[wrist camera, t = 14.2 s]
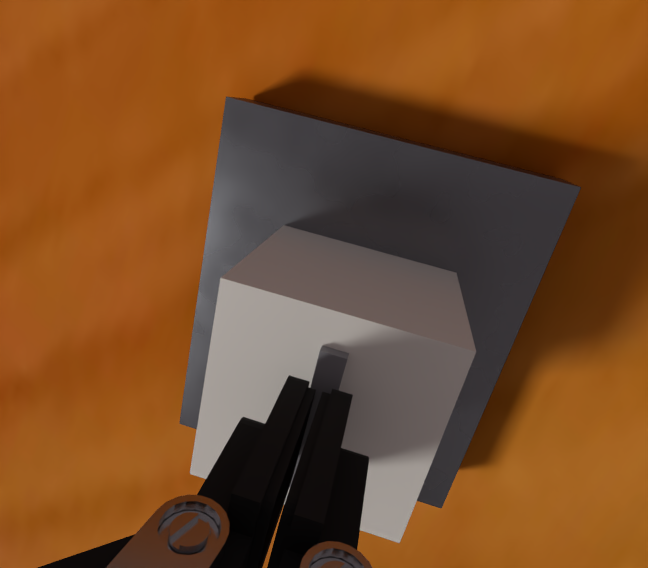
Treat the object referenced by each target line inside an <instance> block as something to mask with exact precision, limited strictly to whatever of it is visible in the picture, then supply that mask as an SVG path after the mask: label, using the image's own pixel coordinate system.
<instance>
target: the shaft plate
mask: <svg viewBox="0 0 648 568" xmlns="http://www.w3.org/2000/svg"><path fill="white" fill-rule="evenodd" d="M580 189H581V187H579V186H577V185H574V184H572V183H570V182H568V181H565V180H563V179H559V178H555V177H552V176H548V175H544V174H540V173H536V172H532V171H528V170H524V169H520V168H516V167H512V166H508V165H505V164H501V163H497V162H493V161H489V160H485V159H481V158H477V157H473V156H469V155H465V154H461V153H457V152H454V151H450V150H446V149H442V148H438V147H434V146H430V145H426V144H422V143H418V142H414V141H410V140H407V139H403V138H399V137H395V136H391V135H387V134H383V133H379V132H375V131H371V130H367V129H363V128H360V127H356V126H352V125H348V124H344V123H340V122H336V121H332V120H328V119H324V118H320V117H316V116H312V115H309V114H305V113H301V112H297V111H293V110H289V109H285V108H281V107H277V106H273V105H269V104H265V103H262V102H258V101H254V100H250V99H246V98H235V97H226V102H225V109H224V116H223V123H222V130H221V137H220V144H219V151H218V158H217V165H216V172H215V179H214V186H213V193H212V200H211V207H210V214H209V221H208V228H207V235H206V242H205V249H204V256H203V263H202V270H201V277H200V284H199V291H198V298H197V305H196V312H195V319H194V326H193V333H192V340H191V347H190V354H189V361H188V368H187V375H186V382H185V389H184V396H183V403H182V410H181V417H180V424H182V425H186V426H189V427H192V428H195V429H197V425H198V418H199V412H200V405H201V399H202V393H203V386H204V380H205V374H206V367H207V361H208V354H209V348H210V342H211V335H212V329H213V323H214V316H215V310H216V303H217V297H218V291H219V284H220V278H221V277H222V276H223V275H224V274H226V273H227V272H228V271H229V270H230V269H232V268H233V267H234V266H235V265H236V264H238V263H239V262H240V261H241V260H242V259H244V258H245V257H246V256H247V255H248V254H250V253H251V252H252V251H253V250H254V249H256V248H257V247H258V246H259V245H261V244H262V243H263V242H264V241H265V240H267V239H268V238H269V237H270V236H271V235H273V234H274V233H275V232H276V231H277V230H279V229H280V228H281V227H282V226H283V225H285V226H289V227H292V228H296V229H299V230H303V231H307V232H310V233H314V234H318V235H321V236H325V237H329V238H332V239H336V240H339V241H343V242H347V243H350V244H354V245H358V246H361V247H365V248H368V249H372V250H376V251H379V252H383V253H387V254H390V255H394V256H398V257H401V258H405V259H408V260H412V261H416V262H419V263H423V264H427V265H430V266H434V267H438V268H441V269H445V270H448V271H452V272H456V273H457V277H458V281H459V285H460V289H461V293H462V297H463V301H464V305H465V309H466V313H467V317H468V321H469V325H470V329H471V333H472V337H473V341H474V345H475V349H476V354H475V356H474V359H473V361H472V364H471V366H470V369H469V371H468V374H467V376H466V379H465V381H464V384H463V386H462V389H461V391H460V394H459V396H458V399H457V401H456V404H455V406H454V409H453V411H452V414H451V416H450V419H449V421H448V424H447V426H446V429H445V431H444V434H443V436H442V439H441V441H440V444H439V446H438V449H437V451H436V454H435V456H434V459H433V461H432V464H431V466H430V469H429V471H428V474H427V476H426V479H425V481H424V484H423V486H422V489H421V491H420V493H419V496H418V498H417V501H420V502H423V503H426V504H429V505H432V506H435V507H438V508H442V506H443V504H444V501H445V499H446V497H447V494H448V492H449V490H450V488H451V485H452V483H453V481H454V478H455V476H456V474H457V471H458V469H459V467H460V465H461V462H462V460H463V458H464V455H465V453H466V451H467V448H468V446H469V444H470V442H471V439H472V437H473V435H474V432H475V430H476V428H477V425H478V423H479V421H480V419H481V416H482V414H483V412H484V409H485V407H486V405H487V402H488V400H489V398H490V396H491V393H492V391H493V389H494V386H495V384H496V382H497V379H498V377H499V375H500V373H501V370H502V368H503V366H504V363H505V361H506V359H507V356H508V354H509V352H510V350H511V347H512V345H513V343H514V340H515V338H516V336H517V333H518V331H519V329H520V327H521V324H522V322H523V320H524V317H525V315H526V313H527V311H528V308H529V306H530V304H531V301H532V299H533V297H534V294H535V292H536V290H537V288H538V285H539V283H540V281H541V278H542V276H543V274H544V271H545V269H546V267H547V265H548V262H549V260H550V258H551V255H552V253H553V251H554V248H555V246H556V244H557V242H558V239H559V237H560V235H561V232H562V230H563V228H564V225H565V223H566V221H567V219H568V216H569V214H570V212H571V209H572V207H573V205H574V202H575V200H576V198H577V196H578V193H579V191H580Z"/></svg>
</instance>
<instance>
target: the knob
mask: <svg viewBox="0 0 648 568" xmlns="http://www.w3.org/2000/svg"><path fill="white" fill-rule="evenodd" d="M475 354H476V349H475V345H474V341H473V337H472V333H471V329H470V325H469V321H468V317H467V313H466V309H465V305H464V301H463V297H462V293H461V289H460V285H459V281H458V277H457V273H456V272H452V271H448V270H445V269H441V268H438V267H434V266H430V265H427V264H423V263H419V262H416V261H412V260H408V259H405V258H401V257H398V256H394V255H390V254H387V253H383V252H379V251H376V250H372V249H368V248H365V247H361V246H358V245H354V244H350V243H347V242H343V241H339V240H336V239H332V238H329V237H325V236H321V235H318V234H314V233H310V232H307V231H303V230H299V229H296V228H292V227H289V226H285V225H283V226H282V227H281V228H280V229H279V230H277V231H276V232H275V233H274V234H273V235H271V236H270V237H269V238H268V239H267V240H265V241H264V242H263V243H262V244H261V245H259V246H258V247H257V248H256V249H254V250H253V251H252V252H251V253H250V254H248V255H247V256H246V257H245V258H244V259H242V260H241V261H240V262H239V263H238V264H236V265H235V266H234V267H233V268H232V269H230V270H229V271H228V272H227V273H226V274H224V275H223V276H222V277H221V278H220V284H219V291H218V297H217V303H216V310H215V316H214V323H213V329H212V335H211V342H210V348H209V354H208V361H207V367H206V374H205V380H204V386H203V393H202V399H201V405H200V412H199V418H198V425H197V431H196V437H195V444H194V450H193V456H192V463H191V469H190V474H192V475H195V476H198V477H201V478H204V479H206V478H207V477H208V475H209V473H210V471H211V470H212V468H213V466H214V464H215V463H216V461H217V459H218V457H219V456H220V454H221V452H222V451H223V449H224V447H225V445H226V444H227V442H228V440H229V438H230V437H231V435H232V433H233V431H234V430H235V428H236V426H237V424H238V423H239V421H240V420H241V418H242V417H246V418H249V419H252V420H255V421H258V422H261V423H266V421H267V419H268V417H269V415H270V413H271V411H272V409H273V407H274V405H275V403H276V401H277V398H278V396H279V394H280V392H281V390H282V388H283V386H284V384H285V382H286V380H287V378H288V376H289V375H290V376H293V377H296V378H300V379H303V380H306V381H309V388H312V389H316V392H315V396H314V400H313V403H312V407H311V411H310V415H309V418H308V422H307V426H306V429H305V433H304V437H303V441H302V444H301V448H300V452H299V456H298V459H297V463H296V467H295V471H294V474H293V477H292V481H293V478H294V475H295V472H296V469H297V466H298V463H299V460H300V457H301V454H302V451H303V448H304V445H305V442H306V439H307V436H308V433H309V430H310V427H311V424H312V421H313V418H314V415H315V412H316V409H317V406H318V403H319V400H320V397H321V394H322V392H325V393H329V394H331V391H332V389H336V390H339V391H342V392H345V393H349V394H352V395H353V397H352V401H351V406H350V410H349V415H348V419H347V424H346V428H345V433H344V437H343V442H342V446H341V448H343V449H347V450H350V451H353V452H356V453H359V454H362V455H365V456H369V465H368V472H367V480H366V487H365V494H364V502H363V509H362V516H361V524H360V530H361V531H364V532H367V533H370V534H373V535H376V536H379V537H382V538H385V539H389V540H392V541H395V542H398V543H400V541H401V538H402V536H403V533H404V531H405V528H406V526H407V523H408V521H409V518H410V516H411V513H412V511H413V508H414V506H415V503H416V501H417V498H418V496H419V493H420V491H421V489H422V486H423V484H424V481H425V479H426V476H427V474H428V471H429V469H430V466H431V464H432V461H433V459H434V456H435V454H436V451H437V449H438V446H439V444H440V441H441V439H442V436H443V434H444V431H445V429H446V426H447V424H448V421H449V419H450V416H451V414H452V411H453V409H454V406H455V404H456V401H457V399H458V396H459V394H460V391H461V389H462V386H463V384H464V381H465V379H466V376H467V374H468V371H469V369H470V366H471V364H472V361H473V359H474V356H475ZM292 481H291V484H292ZM291 484H290V487H291ZM290 487H289V490H290ZM289 490H288V493H289ZM288 493H287V496H288ZM287 496H286V499H287ZM286 499H285V502H286ZM285 502H284V505H285Z"/></svg>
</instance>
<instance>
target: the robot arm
mask: <svg viewBox="0 0 648 568" xmlns="http://www.w3.org/2000/svg"><path fill="white" fill-rule="evenodd" d="M315 392H316V389H312V388H309V381H306V380H303V379H300V378H296V377H293V376H290V375H289V376H288V378H287V380H286V382H285V384H284V386H283V388H282V390H281V392H280V394H279V396H278V398H277V401H276V403H275V405H274V407H273V409H272V411H271V413H270V415H269V417H268V419H267V421H266V423H261V422H258V421H255V420H252V419H249V418H246V417H242V418H241V420H240V421H239V423H238V424H237V426H236V428H235V430H234V431H233V433H232V435H231V437H230V438H229V440H228V442H227V444H226V445H225V447H224V449H223V451H222V452H221V454H220V456H219V457H218V459H217V461H216V463H215V464H214V466H213V468H212V470H211V471H210V473H209V475H208V477H207V478H206V480H205V482H204V484H203V485H202V487H201V489H200V491H199V492H198V494H197V495H185V496H179V497H176V498H174V499H172V500H169V501H167V502H166V503H164V504H163V505H162V506H161V507H160V508H159V509H157V510H156V512H155V513H154V514H153V515H152V516H151V517H150V518H149V519H148V521H147V522H146V523H145V524H144V525H143V526H142V527H141V528H140V530H139V531H138V532H137V533H136V534H135V535H132V536H129V537H126V538H123V539H120V540H117V541H114V542H111V543H108V544H105V545H103V546H100V547H97V548H94V549H91V550H88V551H85V552H82V553H79V554H76V555H73V556H70V557H67V558H65V559H62V560H59V561H56V562H53V563H50V564H47V565H44V566H41V567H38V568H262V567H263V564H264V561H265V558H266V555H267V552H268V549H269V546H270V543H271V540H272V537H273V534H274V531H275V528H276V525H277V522H278V519H279V516H280V514H281V511H282V508H283V505H284V502H285V499H286V496H287V493H288V490H289V487H290V484H291V481H292V477H293V474H294V471H295V467H296V463H297V459H298V456H299V452H300V448H301V444H302V441H303V437H304V433H305V429H306V426H307V422H308V418H309V415H310V411H311V407H312V403H313V400H314V396H315ZM352 397H353V395H352V394H349V393H345V392H342V391H339V390H336V389H332V391H331V394H329V393H325V392H322V394H321V397H320V400H319V403H318V406H317V409H316V412H315V415H314V418H313V421H312V424H311V427H310V430H309V433H308V436H307V439H306V442H305V445H304V448H303V451H302V454H301V457H300V460H299V463H298V466H297V469H296V472H295V475H294V478H293V481H292V484H291V487H290V490H289V493H288V496H287V499H286V502H285V505H284V508H283V511H282V515H281V518H280V522H279V526H278V529H277V533H276V537H275V541H274V544H273V548H272V552H271V556H270V559H269V563H268V567H267V568H372V566H371V564H370V563H369V561H368V560H367V559H366V558H365V557H364V556H363V555H362V554H361V552H359V551H358V550H357V546H358V538H359V531H360V524H361V516H362V509H363V502H364V494H365V487H366V480H367V472H368V465H369V456H365V455H362V454H359V453H356V452H353V451H350V450H347V449H343V448H341V446H342V442H343V437H344V433H345V428H346V424H347V419H348V415H349V410H350V406H351V401H352Z"/></svg>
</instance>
